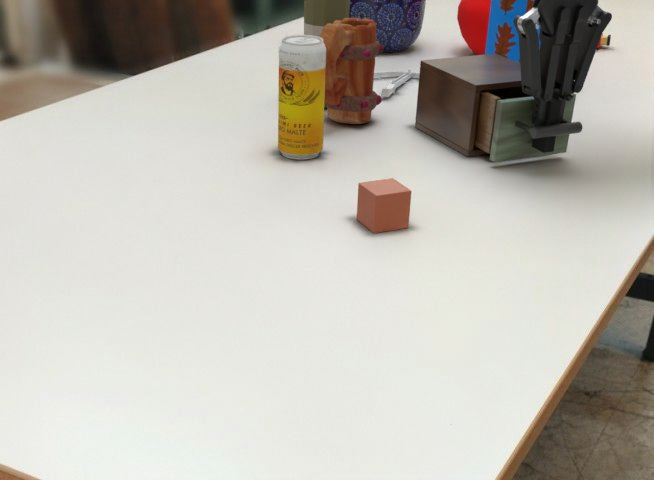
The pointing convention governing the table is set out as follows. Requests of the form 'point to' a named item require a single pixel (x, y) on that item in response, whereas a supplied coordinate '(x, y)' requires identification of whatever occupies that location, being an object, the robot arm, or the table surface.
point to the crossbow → (397, 82)
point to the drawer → (517, 125)
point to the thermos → (506, 27)
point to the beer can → (301, 96)
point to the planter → (392, 20)
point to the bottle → (323, 14)
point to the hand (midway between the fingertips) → (542, 148)
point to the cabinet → (459, 96)
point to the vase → (474, 23)
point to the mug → (350, 69)
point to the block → (383, 205)
